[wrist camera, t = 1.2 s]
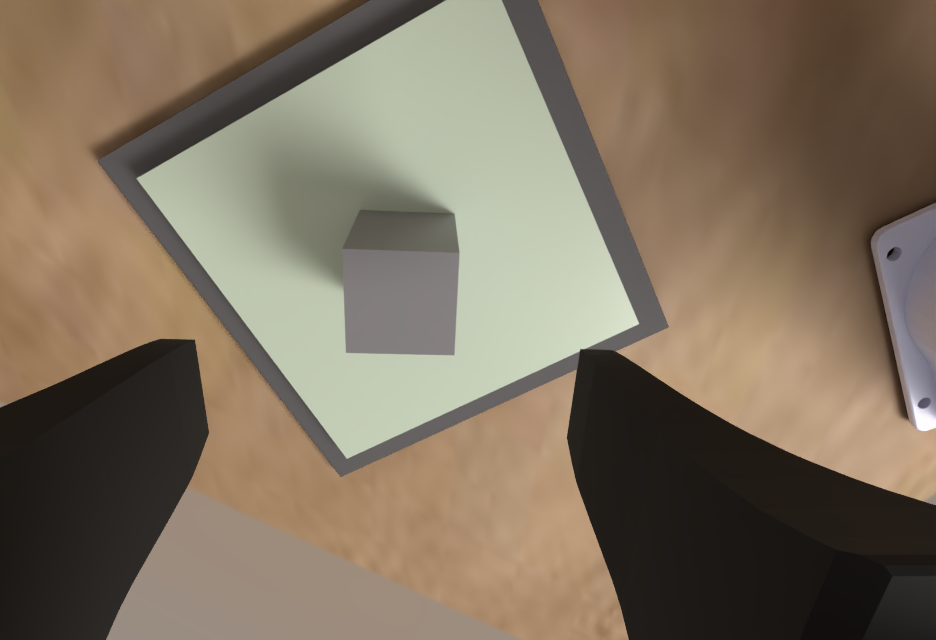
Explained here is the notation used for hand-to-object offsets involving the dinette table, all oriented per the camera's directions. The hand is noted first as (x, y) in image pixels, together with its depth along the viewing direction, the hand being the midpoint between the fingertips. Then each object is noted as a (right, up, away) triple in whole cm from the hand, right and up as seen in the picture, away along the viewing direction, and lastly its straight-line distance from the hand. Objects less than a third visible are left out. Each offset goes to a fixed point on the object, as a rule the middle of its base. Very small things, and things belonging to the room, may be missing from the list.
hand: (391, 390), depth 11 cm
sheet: (-1, +4, +9) cm, 10 cm away
